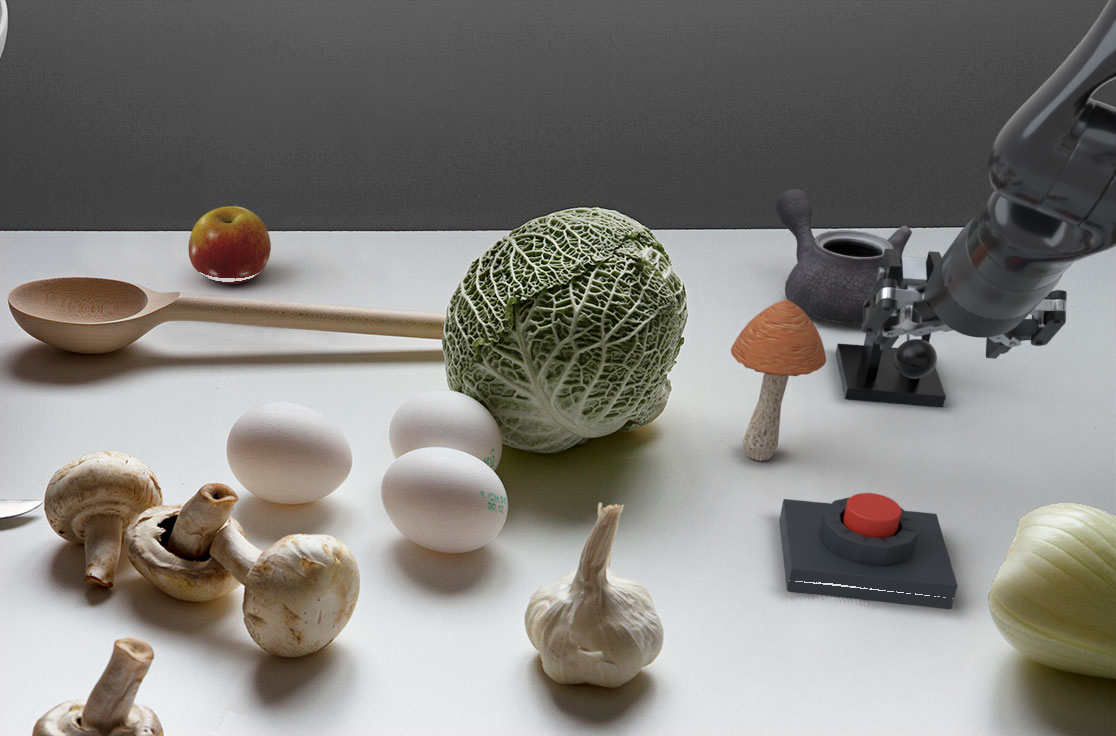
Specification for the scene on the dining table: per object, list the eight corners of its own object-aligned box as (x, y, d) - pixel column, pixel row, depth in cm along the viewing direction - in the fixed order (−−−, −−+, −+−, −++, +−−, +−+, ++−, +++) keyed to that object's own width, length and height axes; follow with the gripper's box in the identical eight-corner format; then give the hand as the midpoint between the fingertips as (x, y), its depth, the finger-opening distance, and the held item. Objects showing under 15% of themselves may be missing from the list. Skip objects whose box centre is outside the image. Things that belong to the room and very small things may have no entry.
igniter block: (930, 535, 106) (942, 494, 104) (951, 609, 98) (963, 566, 96) (779, 520, 108) (787, 479, 106) (786, 591, 100) (795, 548, 98)
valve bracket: (943, 407, 124) (975, 283, 117) (845, 399, 126) (871, 276, 119) (927, 360, 132) (956, 242, 125) (835, 353, 134) (859, 236, 127)
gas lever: (931, 388, 118) (942, 363, 115) (890, 384, 119) (900, 360, 116) (925, 279, 125) (935, 253, 122) (886, 276, 125) (895, 251, 122)
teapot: (942, 309, 143) (964, 222, 137) (845, 342, 136) (864, 252, 130) (811, 254, 156) (826, 173, 151) (717, 282, 150) (729, 198, 144)
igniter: (893, 513, 102) (898, 495, 101) (900, 542, 99) (905, 523, 98) (840, 508, 103) (844, 490, 102) (845, 536, 100) (850, 517, 99)
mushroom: (782, 427, 121) (810, 278, 113) (822, 471, 114) (854, 316, 106) (701, 435, 120) (724, 285, 112) (737, 480, 113) (763, 324, 105)
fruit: (203, 298, 147) (197, 231, 143) (181, 270, 154) (175, 205, 150) (283, 284, 150) (279, 218, 146) (257, 257, 157) (254, 193, 153)
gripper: (1104, 228, 94) (1027, 308, 110) (898, 215, 97) (852, 296, 112) (1101, 325, 93) (1024, 393, 108) (893, 310, 95) (846, 378, 111)
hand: (936, 343), depth 110 cm, fingers open, 8 cm apart
